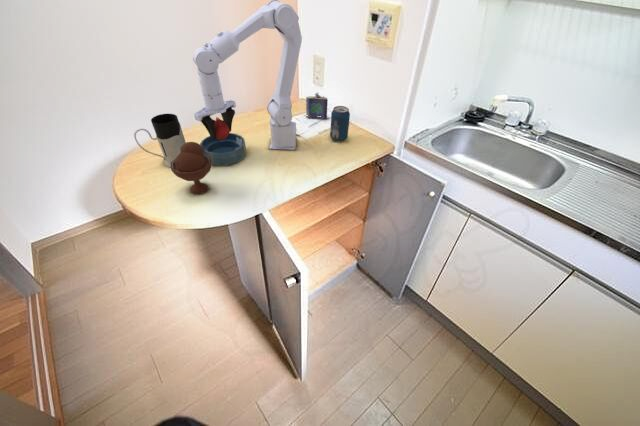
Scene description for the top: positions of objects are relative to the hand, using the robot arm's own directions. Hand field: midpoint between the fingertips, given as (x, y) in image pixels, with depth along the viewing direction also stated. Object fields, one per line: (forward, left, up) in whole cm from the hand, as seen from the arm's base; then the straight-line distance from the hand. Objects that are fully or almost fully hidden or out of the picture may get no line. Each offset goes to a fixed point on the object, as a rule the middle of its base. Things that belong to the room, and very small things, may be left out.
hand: (221, 134), depth 98 cm
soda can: (-41, -15, -8) cm, 44 cm away
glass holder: (+17, +6, -8) cm, 20 cm away
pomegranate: (0, 0, -2) cm, 2 cm away
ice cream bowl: (+3, +20, -8) cm, 22 cm away
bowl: (0, 0, -8) cm, 8 cm away
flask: (-32, -34, -8) cm, 47 cm away
